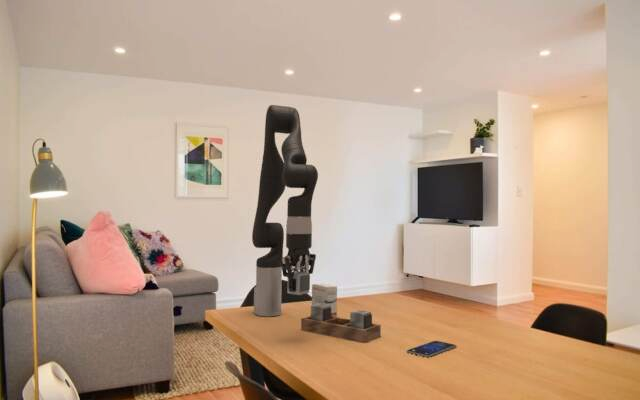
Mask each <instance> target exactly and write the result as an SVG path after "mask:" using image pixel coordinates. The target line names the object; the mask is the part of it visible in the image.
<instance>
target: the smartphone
mask: <svg viewBox="0 0 640 400" xmlns="http://www.w3.org/2000/svg"><path fill="white" fill-rule="evenodd" d="M451 349H452V350H455V349H457V345H456V344H453V343H448V342H444V341H439V340H433V341H430V342H427V343H424V344H420V345H418V346H415V347H413V348H410V349H407V350H406V352H407V354H409V353H411V354H410V355H413V354H417V355H416V356H418V355H419V356H418V357H420V356H422V357H421V358H424V357H427V358H426V359H429V358H428V357H431V358H433V357H435V355H436V356H438V354H439V355H441V354H443V352H444V353H446V351H447V352H449V351H452V350H451ZM440 353H441V354H440ZM432 356H433V357H432Z"/></svg>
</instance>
